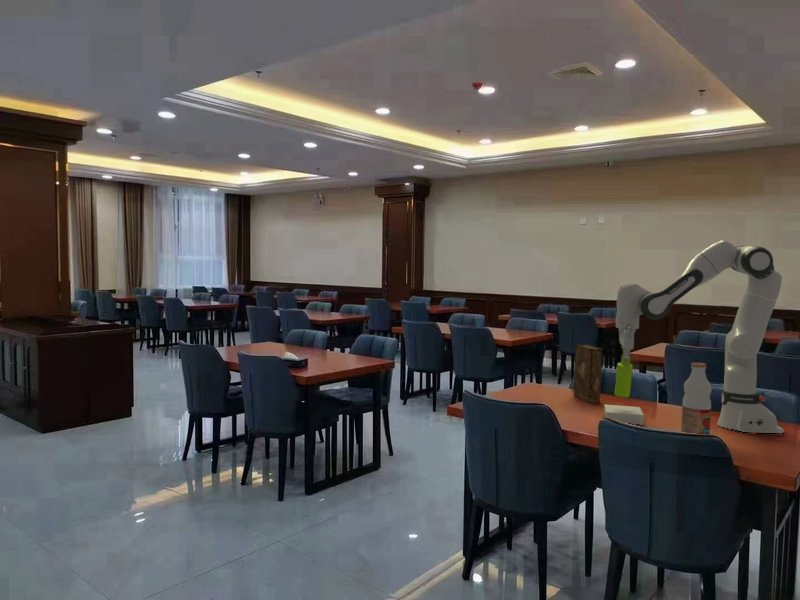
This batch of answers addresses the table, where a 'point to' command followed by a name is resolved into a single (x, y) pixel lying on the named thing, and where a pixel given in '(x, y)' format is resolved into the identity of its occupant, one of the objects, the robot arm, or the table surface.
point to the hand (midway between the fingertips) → (625, 357)
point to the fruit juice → (696, 402)
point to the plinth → (624, 414)
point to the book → (588, 373)
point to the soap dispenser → (623, 377)
